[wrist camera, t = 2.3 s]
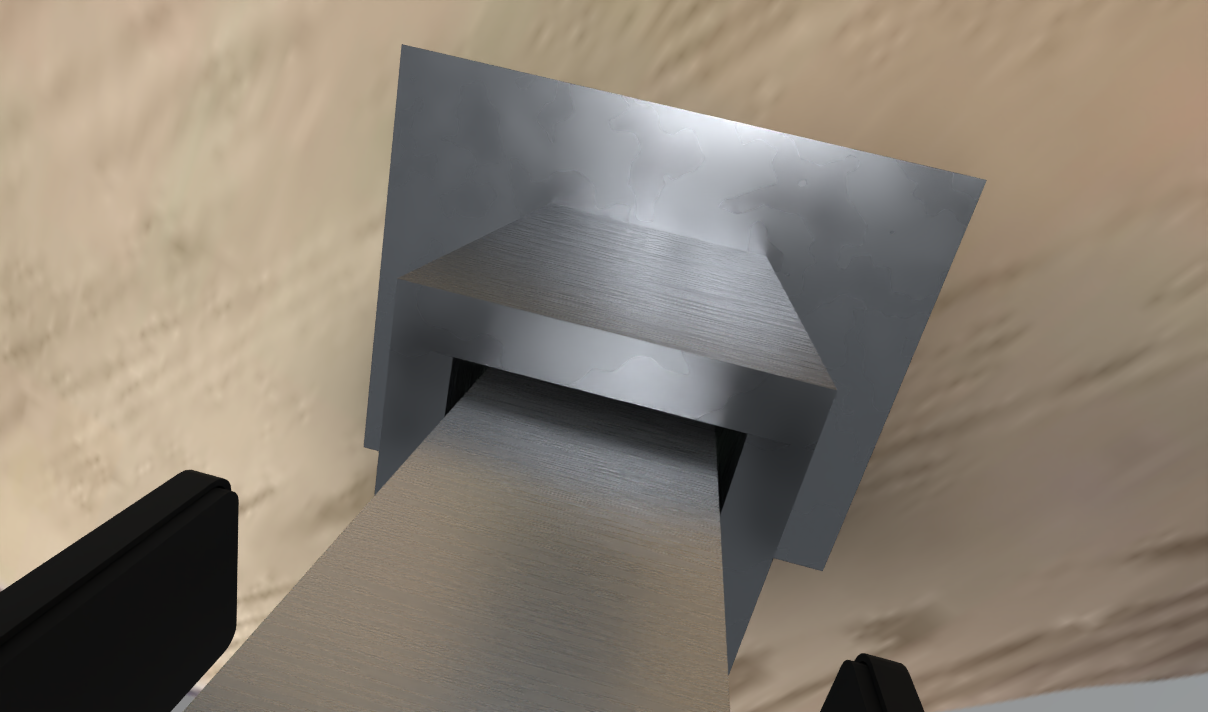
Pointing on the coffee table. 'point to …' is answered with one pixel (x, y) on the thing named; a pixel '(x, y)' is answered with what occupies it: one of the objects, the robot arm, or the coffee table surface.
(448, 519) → the column
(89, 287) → the coffee table surface
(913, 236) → the stand housing
